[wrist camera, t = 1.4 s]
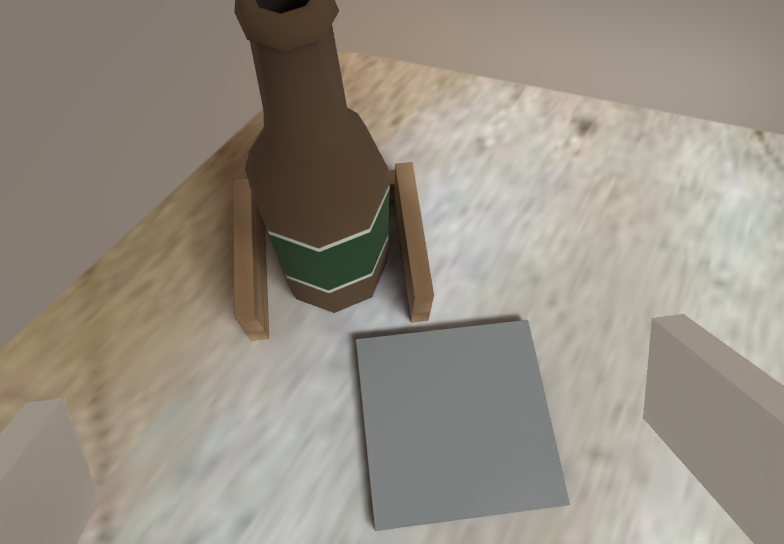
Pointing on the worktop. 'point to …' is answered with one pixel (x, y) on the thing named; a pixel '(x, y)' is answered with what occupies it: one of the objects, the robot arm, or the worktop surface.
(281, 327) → the worktop surface
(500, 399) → the coaster
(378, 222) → the beer bottle
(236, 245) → the cradle
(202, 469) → the worktop surface
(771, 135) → the worktop surface
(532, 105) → the worktop surface
